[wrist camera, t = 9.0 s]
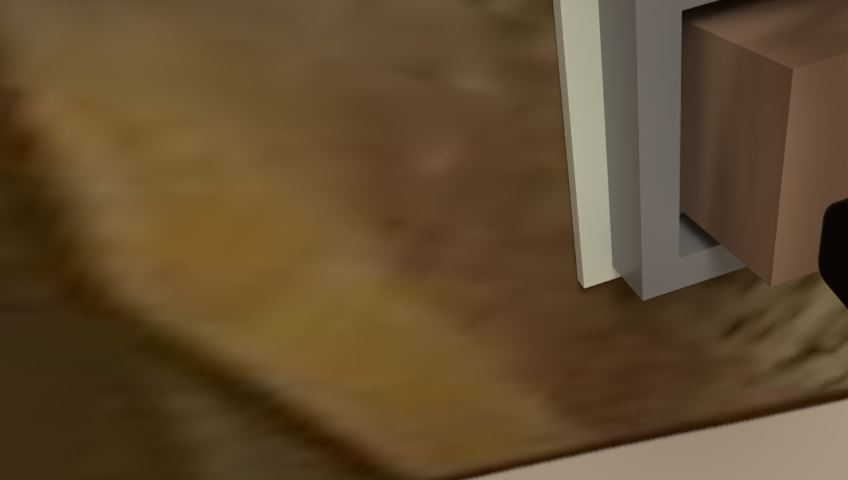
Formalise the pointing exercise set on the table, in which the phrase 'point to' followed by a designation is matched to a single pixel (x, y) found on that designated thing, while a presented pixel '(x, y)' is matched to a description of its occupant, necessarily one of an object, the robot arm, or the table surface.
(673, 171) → the socket board
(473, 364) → the table surface
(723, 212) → the walnut block
